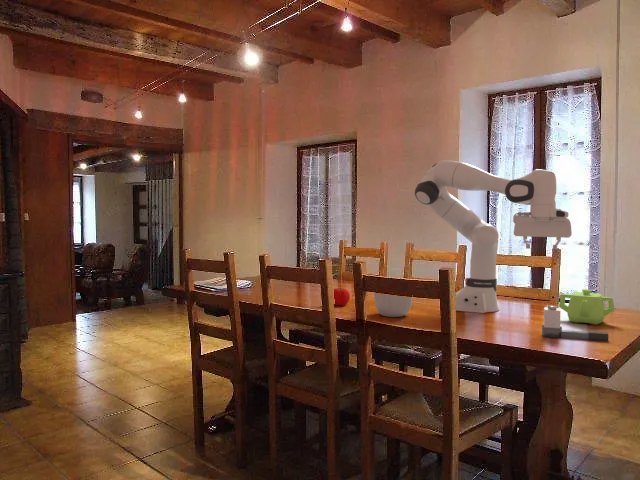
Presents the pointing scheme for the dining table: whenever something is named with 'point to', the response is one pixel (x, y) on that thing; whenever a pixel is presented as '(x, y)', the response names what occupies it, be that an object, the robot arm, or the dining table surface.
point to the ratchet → (574, 334)
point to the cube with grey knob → (551, 317)
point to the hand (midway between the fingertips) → (541, 249)
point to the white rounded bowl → (392, 305)
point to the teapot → (586, 307)
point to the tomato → (341, 296)
